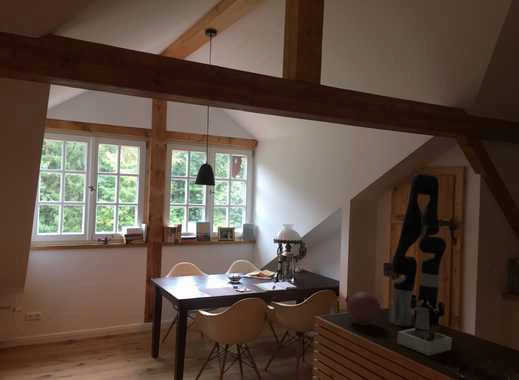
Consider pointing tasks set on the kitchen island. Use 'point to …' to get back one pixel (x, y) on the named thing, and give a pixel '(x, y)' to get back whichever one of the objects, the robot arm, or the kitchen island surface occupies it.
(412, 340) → the carton dock
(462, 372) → the kitchen island surface
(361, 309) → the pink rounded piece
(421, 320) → the coffee box
